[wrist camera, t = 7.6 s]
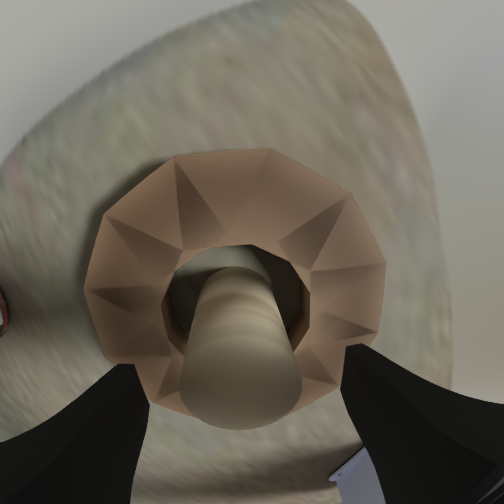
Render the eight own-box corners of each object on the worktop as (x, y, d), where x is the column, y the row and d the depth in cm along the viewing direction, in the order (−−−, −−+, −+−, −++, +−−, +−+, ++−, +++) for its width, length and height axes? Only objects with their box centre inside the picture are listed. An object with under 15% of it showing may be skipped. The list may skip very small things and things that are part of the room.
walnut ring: (287, 420, 18) (292, 440, 16) (83, 346, 15) (70, 363, 13) (408, 235, 15) (428, 244, 13) (163, 107, 12) (153, 97, 10)
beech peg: (252, 343, 16) (265, 438, 9) (187, 317, 15) (163, 408, 8) (286, 285, 15) (325, 367, 8) (217, 253, 14) (206, 323, 8)
